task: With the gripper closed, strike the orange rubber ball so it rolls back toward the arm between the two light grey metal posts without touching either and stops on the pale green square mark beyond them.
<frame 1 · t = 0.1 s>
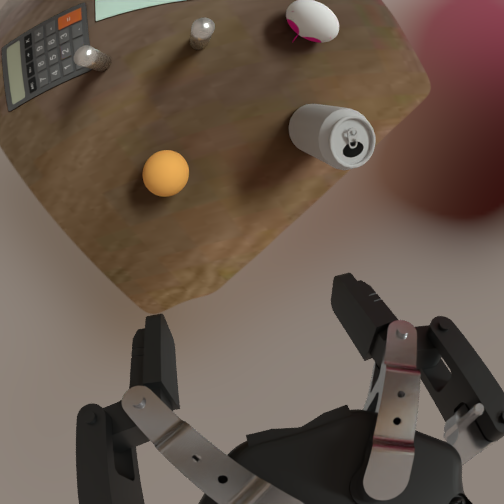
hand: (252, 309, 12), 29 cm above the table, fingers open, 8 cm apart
can: (309, 127, 37), on the table
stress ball: (301, 27, 29), on the table
ball: (165, 173, 33), on the table
post 1: (102, 63, 26), on the table
calculator: (44, 56, 22), on the table
post 2: (199, 41, 28), on the table
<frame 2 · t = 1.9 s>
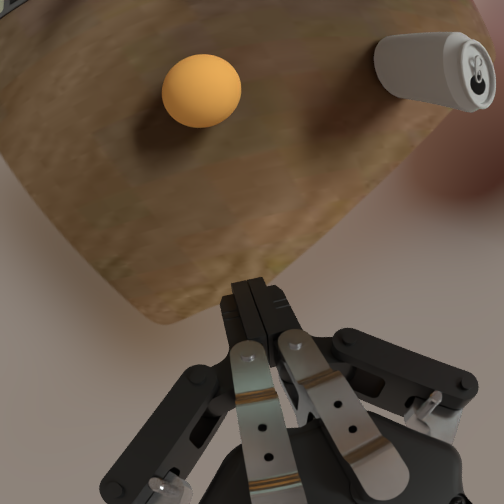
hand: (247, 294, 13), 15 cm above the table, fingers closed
can: (393, 66, 22), on the table
ball: (201, 90, 18), on the table
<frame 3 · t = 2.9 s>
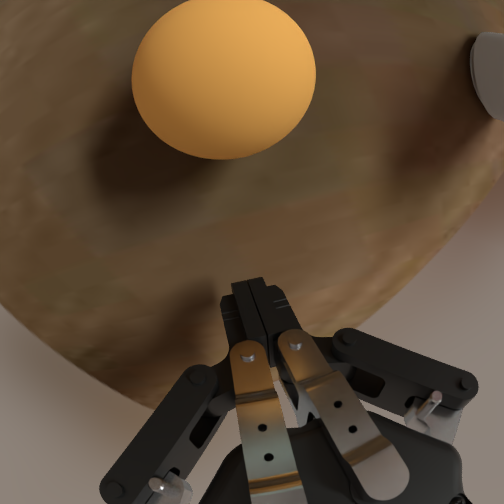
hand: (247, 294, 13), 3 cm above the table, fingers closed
can: (485, 73, 12), on the table
ball: (223, 74, 8), on the table
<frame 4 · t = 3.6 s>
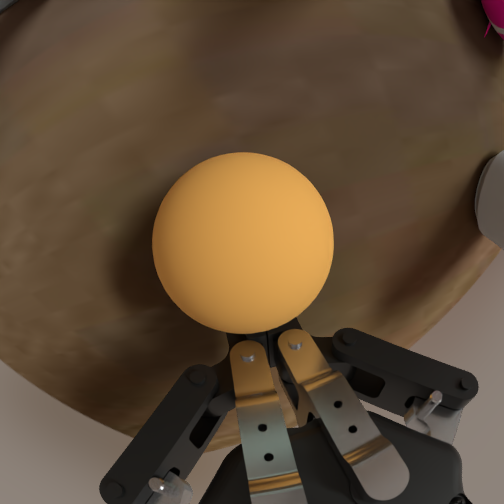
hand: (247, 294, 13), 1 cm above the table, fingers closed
can: (490, 188, 16), on the table
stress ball: (486, 16, 8), on the table
ball: (242, 243, 9), on the table, touching gripper
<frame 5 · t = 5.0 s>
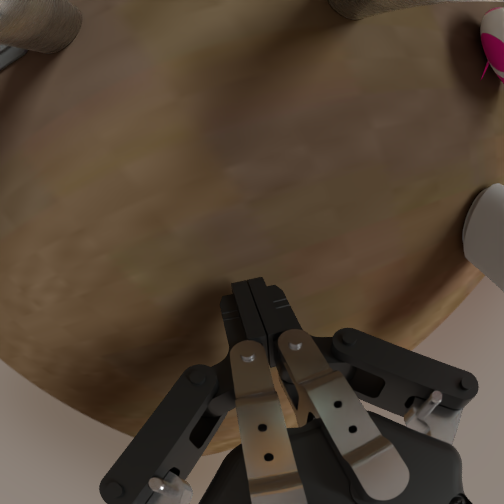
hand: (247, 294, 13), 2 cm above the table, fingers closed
can: (479, 218, 18), on the table
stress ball: (485, 53, 10), on the table
post 1: (57, 28, 6), on the table
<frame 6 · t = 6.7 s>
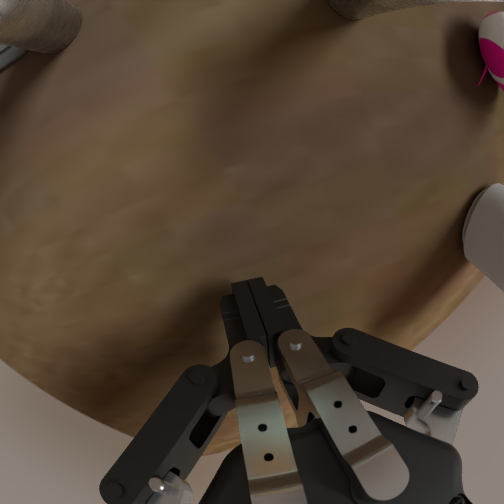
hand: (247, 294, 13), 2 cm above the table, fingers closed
can: (479, 218, 18), on the table
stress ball: (484, 58, 10), on the table
post 1: (57, 28, 6), on the table
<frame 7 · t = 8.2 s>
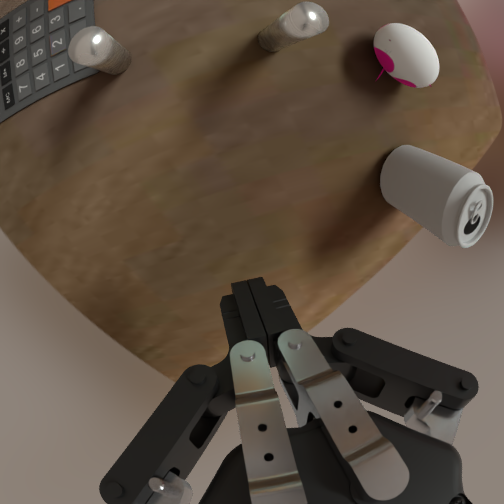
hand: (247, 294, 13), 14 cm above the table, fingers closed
can: (398, 173, 28), on the table
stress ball: (385, 60, 21), on the table
post 1: (117, 61, 16), on the table
calculator: (26, 51, 13), on the table
post 2: (271, 39, 18), on the table
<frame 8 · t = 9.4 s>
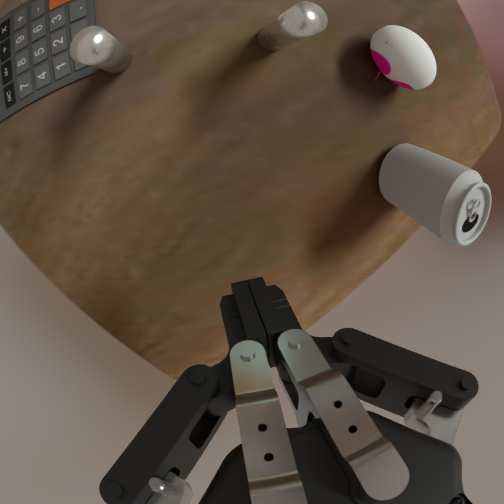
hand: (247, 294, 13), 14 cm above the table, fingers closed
can: (397, 171, 28), on the table
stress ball: (382, 61, 21), on the table
post 1: (117, 60, 17), on the table
calculator: (27, 50, 13), on the table
post 2: (271, 38, 18), on the table
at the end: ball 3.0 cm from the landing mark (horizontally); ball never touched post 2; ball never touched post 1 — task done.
